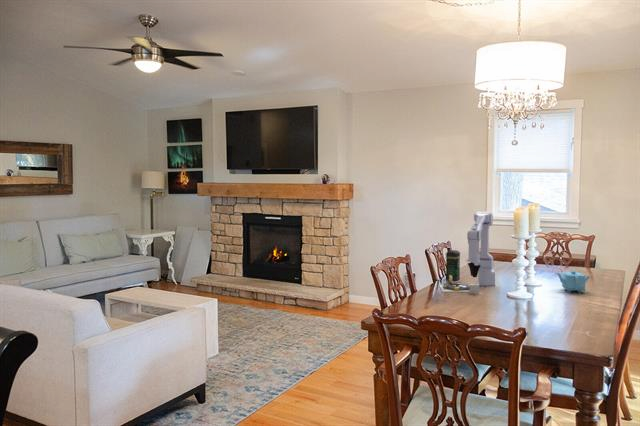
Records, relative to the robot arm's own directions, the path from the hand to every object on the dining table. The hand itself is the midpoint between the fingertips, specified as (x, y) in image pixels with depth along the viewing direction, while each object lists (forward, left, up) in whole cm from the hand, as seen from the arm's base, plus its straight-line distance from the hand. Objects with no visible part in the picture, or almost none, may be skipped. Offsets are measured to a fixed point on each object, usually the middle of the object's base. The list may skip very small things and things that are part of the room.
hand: (473, 276), depth 286 cm
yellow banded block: (0, 0, -10) cm, 10 cm away
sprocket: (+7, -12, -9) cm, 17 cm away
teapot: (-55, -8, -10) cm, 56 cm away
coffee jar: (+5, -41, -10) cm, 42 cm away
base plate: (+7, -12, -9) cm, 17 cm away
